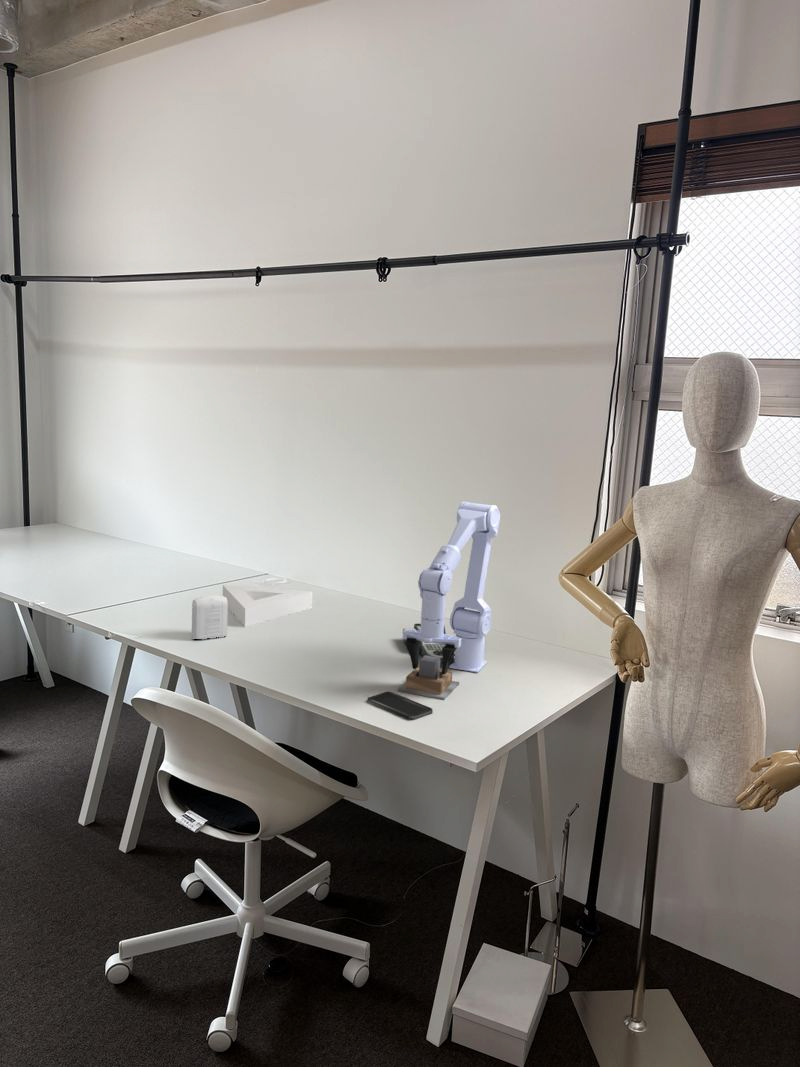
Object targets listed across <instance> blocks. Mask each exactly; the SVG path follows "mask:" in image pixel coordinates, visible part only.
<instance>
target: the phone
mask: <svg viewBox="0 0 800 1067" xmlns="http://www.w3.org/2000/svg"><path fill="white" fill-rule="evenodd" d="M366 699H367V700H366V702H367V703H368V702H369V704H370V703H371V704H370V705H373V706H376V707H377V708H380V709H383V710H385V711H387V712H389V713H392V714H393V715H395V716H398V717H400V718H403V719H406V720H407V721H415V720H417V719H420V718H423V717H427V716H429V715H432V714H433V707H429V706H427V705H425V704H422V703H420V702H417V701H415V700H413V699H410V698H408V697H406V696H405V697H404V696H403V695H400V694H398V693H395V692H392V691H384V692H381V693H380V692H379V693H378V694H373V695H371V696H368V697H367V698H366Z"/></svg>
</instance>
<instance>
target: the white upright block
mask: <svg viewBox="0 0 800 1067" xmlns="http://www.w3.org/2000/svg"><path fill="white" fill-rule="evenodd" d="M228 610H229V609H228V602H227V598H226V597H224V596H223V595H220V594H206V595H202V596H198V597H197V598H194V599H193V600H192V602H191V639H192V638H194V639H202V640H208V639H207V638H210V639H217V638H218V637H219V638H225V637H224V636H226V637H227V636H228V614H229V613H228ZM216 637H217V638H216Z"/></svg>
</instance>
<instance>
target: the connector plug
mask: <svg viewBox="0 0 800 1067" xmlns="http://www.w3.org/2000/svg"><path fill="white" fill-rule="evenodd" d="M418 666H419V677H424V678H429V679H435V680H438V679H439V674H440V670H441V667H440V658H438V657H432V656H426V655H425V656H424V657H423V656H422V658H420V659H419V663H418Z"/></svg>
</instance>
